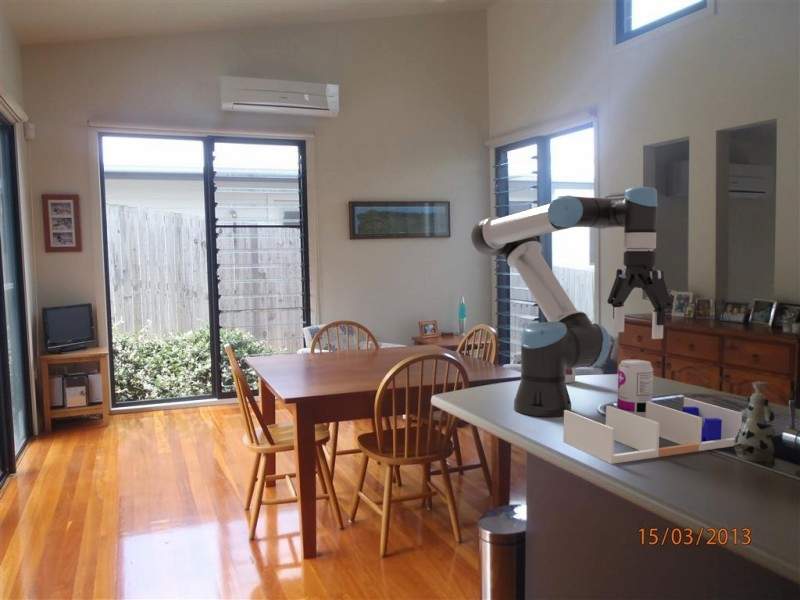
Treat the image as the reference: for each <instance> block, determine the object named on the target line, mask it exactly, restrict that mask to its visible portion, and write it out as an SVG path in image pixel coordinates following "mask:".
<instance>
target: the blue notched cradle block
mask: <svg viewBox="0 0 800 600" xmlns="http://www.w3.org/2000/svg"><path fill="white" fill-rule="evenodd" d="M682 412H684V413H688V414H691V415H694V416H698V417H699V414H698V408H697V407H684V406H682ZM721 428H722V420H721V419H719V418H705V423H704V427H702V434H701V442H706V441H713V440H720V439H721Z"/></svg>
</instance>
